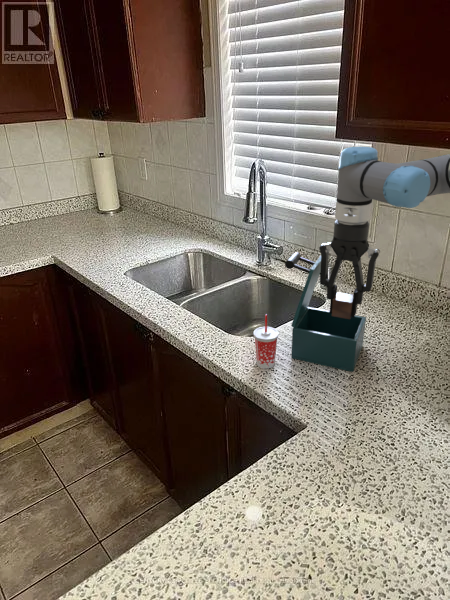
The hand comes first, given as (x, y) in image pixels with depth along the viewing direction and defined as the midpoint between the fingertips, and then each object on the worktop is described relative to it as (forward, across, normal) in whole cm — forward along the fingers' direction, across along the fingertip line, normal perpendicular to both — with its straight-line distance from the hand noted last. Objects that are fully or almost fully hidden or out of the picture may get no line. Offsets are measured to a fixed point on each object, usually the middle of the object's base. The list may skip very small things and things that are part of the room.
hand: (342, 312), depth 110 cm
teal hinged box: (+12, -3, 0) cm, 13 cm away
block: (0, 0, 0) cm, 0 cm away
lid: (-5, -8, 0) cm, 10 cm away
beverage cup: (+12, -16, -11) cm, 23 cm away
